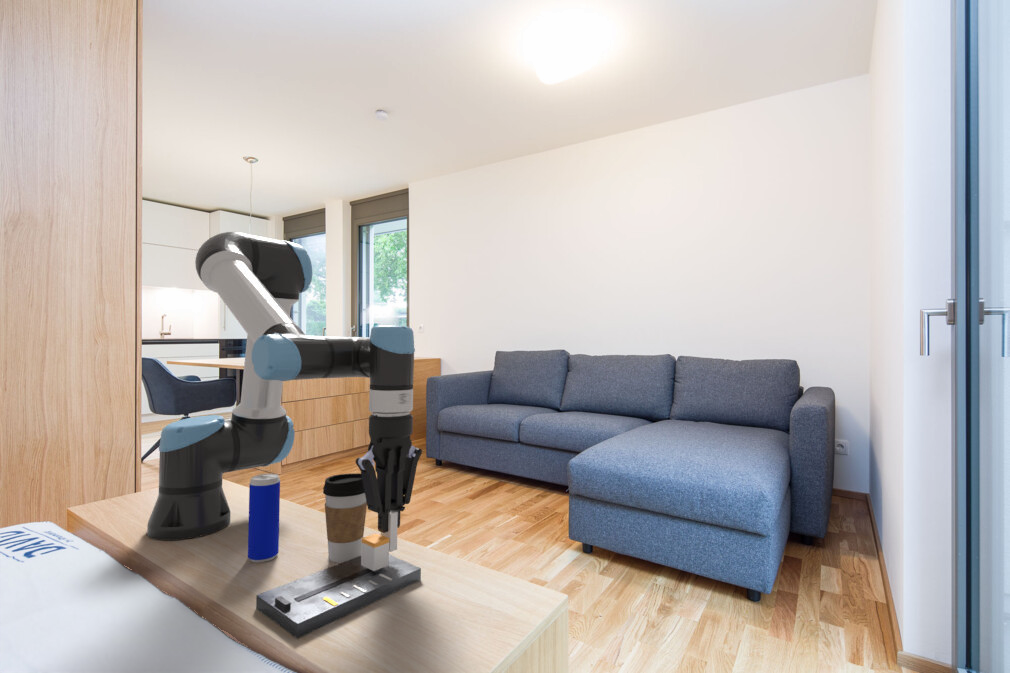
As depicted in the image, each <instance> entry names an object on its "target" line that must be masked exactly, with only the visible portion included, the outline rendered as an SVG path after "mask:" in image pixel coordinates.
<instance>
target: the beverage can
mask: <svg viewBox="0 0 1010 673" xmlns="http://www.w3.org/2000/svg"><path fill="white" fill-rule="evenodd" d="M248 486H249V489H248V490H249V491H248V528H247V530H248V533H247V534H248V535H247V558H248V560H249V561H250V562H251V563H257V564H258V563H259V564H260V563H261V564H262V563H266V562H269V561H272V560H274V559H275V558H276V557H277V555H278V554H279V548H280V546H279V545H280V543H279V542H280V509H281V507H280V504H281V502H280V500H281V478H280V476H279V474H276V473H263V474H257V475H256V474H255V475H254V476H252V477H251V479H250V480H249V485H248Z"/></svg>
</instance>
